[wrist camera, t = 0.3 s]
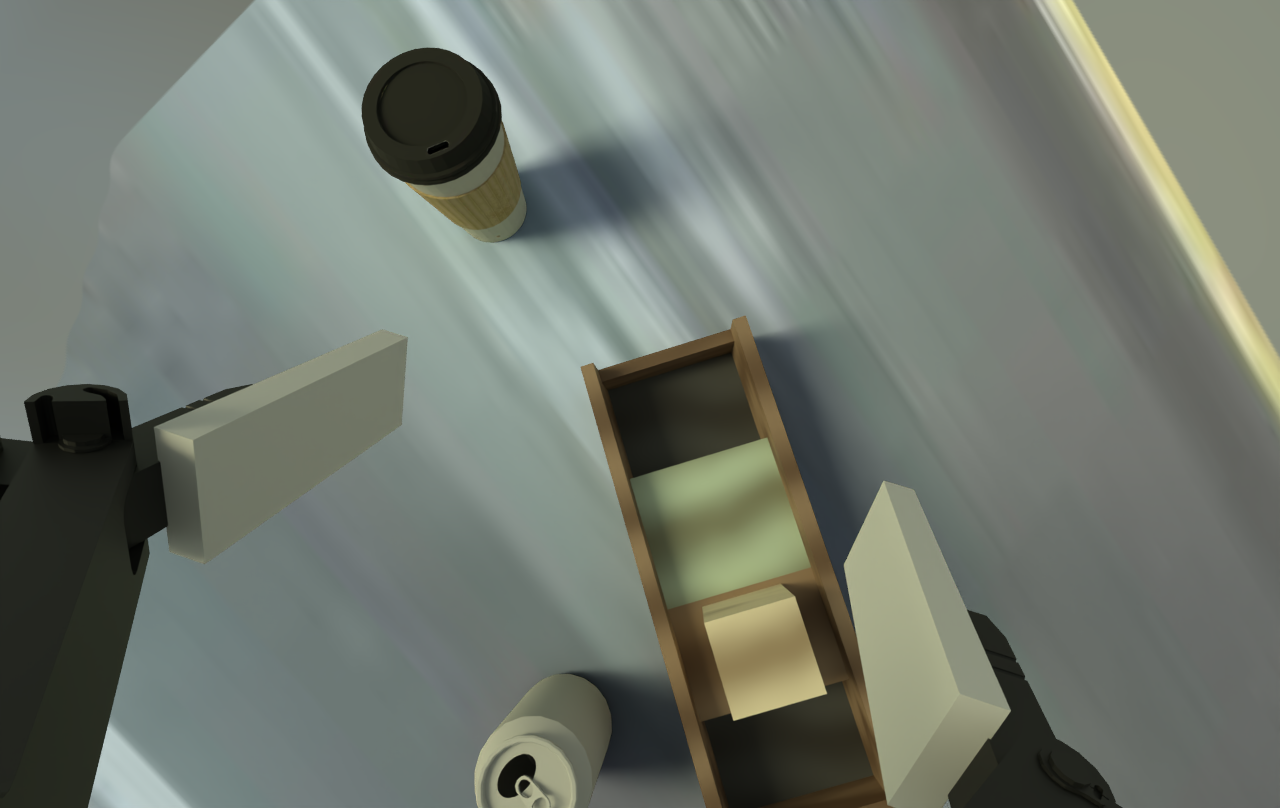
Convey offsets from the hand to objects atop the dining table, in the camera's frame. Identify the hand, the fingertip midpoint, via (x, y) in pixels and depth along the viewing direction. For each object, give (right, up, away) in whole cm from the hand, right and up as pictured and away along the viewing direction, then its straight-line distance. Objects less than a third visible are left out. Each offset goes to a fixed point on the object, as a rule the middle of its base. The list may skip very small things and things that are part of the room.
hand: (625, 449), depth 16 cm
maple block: (+9, -16, +27) cm, 33 cm away
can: (-5, -24, +31) cm, 40 cm away
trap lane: (+8, -12, +32) cm, 35 cm away
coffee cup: (-13, +19, +39) cm, 45 cm away
